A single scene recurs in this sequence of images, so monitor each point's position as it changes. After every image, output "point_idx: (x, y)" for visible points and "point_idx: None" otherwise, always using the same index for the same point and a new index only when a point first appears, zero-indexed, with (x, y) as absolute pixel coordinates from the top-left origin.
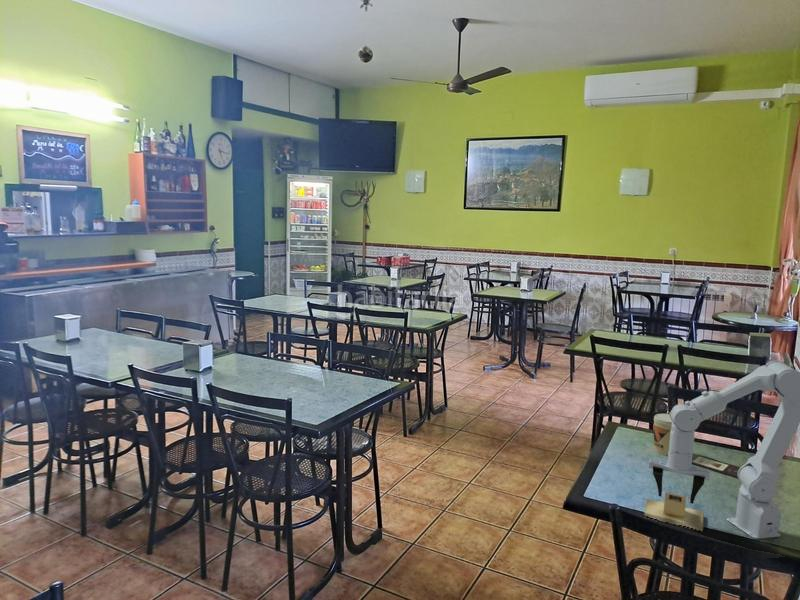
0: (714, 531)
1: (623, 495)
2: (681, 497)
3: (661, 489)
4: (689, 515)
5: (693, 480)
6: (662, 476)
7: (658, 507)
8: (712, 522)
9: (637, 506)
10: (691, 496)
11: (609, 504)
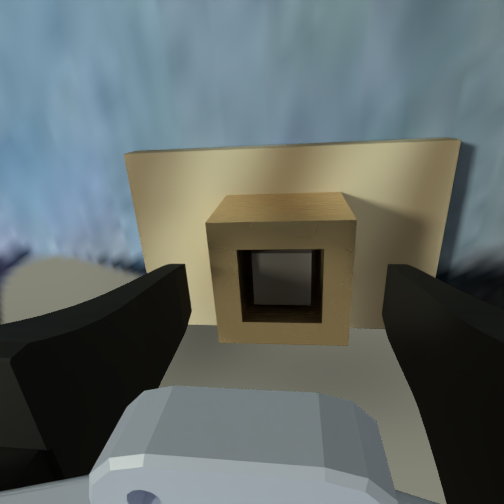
0: (478, 289)
1: (7, 128)
2: (323, 246)
3: (171, 360)
4: (366, 240)
5: (479, 491)
6: (112, 431)
7: (202, 235)
8: (493, 194)
9: (110, 222)
10: (400, 366)
11: (8, 271)
